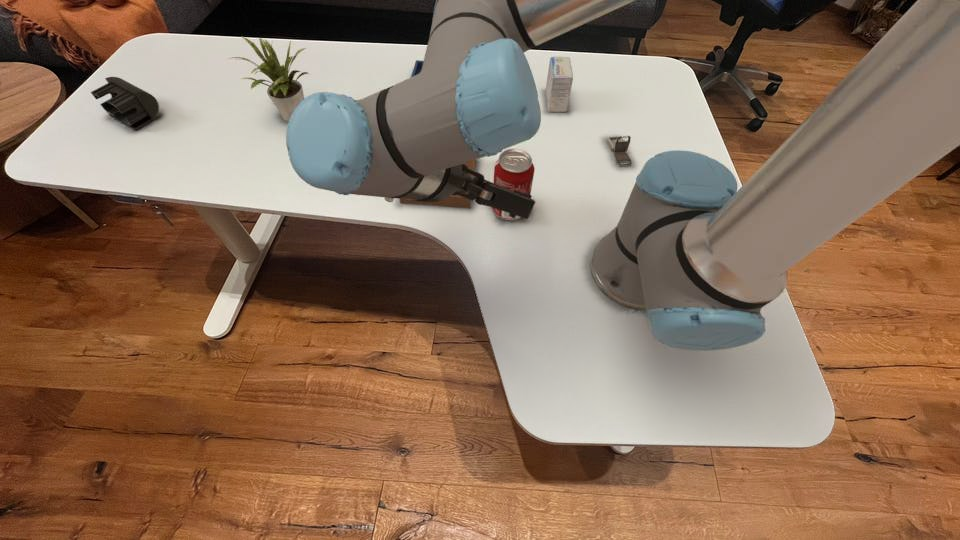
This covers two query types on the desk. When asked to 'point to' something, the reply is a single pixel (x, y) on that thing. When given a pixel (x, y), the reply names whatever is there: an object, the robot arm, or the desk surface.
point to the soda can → (513, 175)
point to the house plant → (278, 79)
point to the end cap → (127, 103)
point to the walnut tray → (451, 200)
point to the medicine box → (559, 84)
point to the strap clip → (620, 149)
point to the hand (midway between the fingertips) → (487, 184)
